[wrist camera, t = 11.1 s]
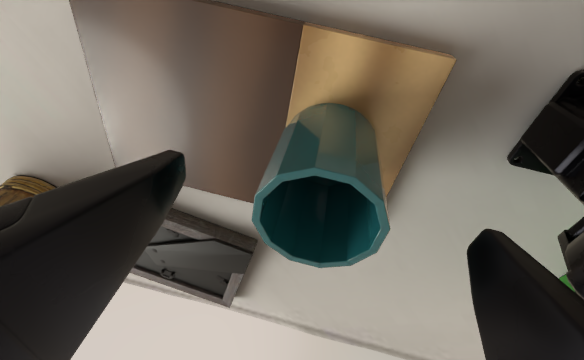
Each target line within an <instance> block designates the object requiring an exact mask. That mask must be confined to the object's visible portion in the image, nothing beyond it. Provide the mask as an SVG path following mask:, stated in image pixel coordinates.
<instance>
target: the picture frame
mask: <svg viewBox="0 0 584 360" xmlns="http://www.w3.org/2000/svg"><path fill="white" fill-rule="evenodd" d="M256 243H257V240H256V239H253V238H250V237H248V236H245V235H242V234H239V233H237V232H234V231H231V230H229V229H226V228H223V227H221V226H218V225H215V224H212V223H210V222H207V221H204V220H202V219H199V218H196V217H194V216H191V215H188V214H185V213H183V212H180V211H177V210H175V209H172V208H171V209H170V211H169V213H168V215H167V217H166V219H165V220H164V222H163V224H162V225H161V227H160V228H159V230H158V231H157V233H156V234H155V236H154V237H153V239H152V240H151V242H150V243H149V245H148V246H147V248H146V249H145V251H144V252H143V253H142V255H141V256H140V258H139V259H138V261H137V262H136V264H135V265H134V267H133V268H132V270H131V271H130V273H132V274H135V275H138V276H141V277H144V278H147V279H149V280H152V281H155V282H158V283H161V284H164V285H166V286H169V287H172V288H175V289H178V290H181V291H184V292H186V293H189V294H192V295H195V296H198V297H201V298H203V299H206V300H209V301H212V302H215V303H218V304H221V305H223V306H226V307H229V308H230V306H231V304H232V301H233V299H234V297H235V294H236V292H237V289H238V287H239V285H240V282H241V280H242V278H243V275H244V273H245V271H246V268H247V266H248V264H249V261H250V259H251V257H252V254H253V252H254V249H255V246H256Z"/></svg>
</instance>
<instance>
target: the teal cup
mask: <svg viewBox="0 0 584 360" xmlns="http://www.w3.org/2000/svg"><path fill="white" fill-rule="evenodd" d="M252 222H253V224H254V225H255V227H256V229H257V231H258V232H259V234H260V236H261V237H262V239H263V241H264V243H265V244H266V245H268V246H269V247H271V248H272V249H274V250H275V251H277V252H278V253H280V254H281V255H283V256H284V257H286V258H287V259H289V260H291V261H295V262H299V263H302V264H306V265H310V266H314V267H318V268H326V267H340V266H351V265H353V264H355V263H357V262H359V261H361V260H363V259H365V258H367V257H369V256H371V255H373V254H375V253H377V251H378V250H379V248H380V246H381V244H382V243H383V241H384V239H385V238H386V236H387V234H388V232H389V231H390V223H389V216H388V209H387V202H386V195H385V188H384V181H383V174H382V167H381V160H380V153H379V148H378V143H377V137H376V134H375V130H374V129H373V127H372V125H371V124H370V122H369V121H368V120H367V119H366V118H365V116H363V115H362V114H361V113H360V112H358V111H356V110H355V109H353V108H351V107H348V106H345V105H342V104H337V103H321V104H317V105H313V106H310V107H308V108H306V109H304V110H302V111H301V112H299V113H298V114H297V115H296V116H295V117H294V118H293V119H292V120H291V121H290V123H289V124H288V126H287V127H286V128H285V129H284V131H283V133H282V135H281V137H280V140H279V142H278V144H277V146H276V149H275V151H274V153H273V155H272V158H271V160H270V162H269V164H268V167H267V169H266V171H265V173H264V176H263V178H262V180H261V182H260V185H259V187H258V189H257V191H256V194H255V197H254V206H253V214H252Z"/></svg>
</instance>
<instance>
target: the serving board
mask: <svg viewBox="0 0 584 360" xmlns="http://www.w3.org/2000/svg"><path fill="white" fill-rule="evenodd" d="M69 2H70V5H71V9H72V13H73V16H74V20H75V23H76V27H77V31H78V34H79V38H80V42H81V45H82V49H83V52H84V56H85V60H86V63H87V67H88V70H89V74H90V78H91V81H92V85H93V88H94V92H95V96H96V99H97V103H98V106H99V110H100V114H101V117H102V121H103V124H104V128H105V132H106V135H107V139H108V142H109V146H110V150H111V153H112V157H113V161H114V164H115V168H117V167H120V166H123V165H126V164H129V163H132V162H135V161H138V160H141V159H144V158H146V157H149V156H152V155H155V154H158V153H161V152H164V151H167V150H173V151H177V152H181V153H183V154H184V157H185V166H186V179H185V182H184V184H183V186H187V187H191V188H195V189H198V190H202V191H206V192H210V193H214V194H218V195H222V196H226V197H230V198H234V199H238V200H242V201H246V202H250V203H254V197H255V194H256V191H257V189H258V187H259V185H260V182H261V180H262V178H263V176H264V173H265V171H266V169H267V167H268V164H269V162H270V160H271V158H272V155H273V153H274V151H275V149H276V146H277V144H278V142H279V140H280V137H281V135H282V133H283V131H284V129H285V128H286V127H287V126H288V124H289V123H290V121H291V120H292V119H293V118H294V117H295V116H296V115H297V114H298V113H299V112H301V111H302V110H304V109H306V108H308V107H310V106H313V105H317V104H321V103H337V104H342V105H345V106H348V107H351V108H353V109H355V110H356V111H358V112H360V113H361V114H362V115H363V116H365V118H366V119H367V120H368V121H369V122H370V124H371V125H372V127H373V129H374V130H375V134H376V137H377V143H378V148H379V153H380V160H381V167H382V174H383V181H384V188H385V195H386V197H387V195H388V193H389V191H390V189H391V187H392V185H393V183H394V181H395V179H396V177H397V175H398V173H399V171H400V169H401V167H402V165H403V163H404V161H405V160H406V158H407V156H408V154H409V152H410V150H411V148H412V146H413V144H414V142H415V140H416V138H417V136H418V134H419V132H420V130H421V128H422V126H423V124H424V122H425V121H426V119H427V117H428V115H429V113H430V111H431V109H432V107H433V105H434V103H435V101H436V99H437V97H438V95H439V93H440V91H441V89H442V87H443V85H444V83H445V81H446V80H447V78H448V76H449V74H450V72H451V70H452V68H453V66H454V64H455V62H456V59H455V58H454V57H453V56H452V55H450V54H446V53H441V52H437V51H432V50H428V49H423V48H419V47H415V46H410V45H406V44H401V43H397V42H393V41H388V40H384V39H379V38H375V37H370V36H366V35H362V34H357V33H353V32H348V31H344V30H339V29H335V28H331V27H326V26H322V25H317V24H313V23H308V22H304V21H300V20H295V19H291V18H286V17H282V16H278V15H273V14H269V13H264V12H260V11H255V10H251V9H247V8H242V7H238V6H233V5H229V4H224V3H220V2H216V1H211V0H69Z"/></svg>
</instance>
